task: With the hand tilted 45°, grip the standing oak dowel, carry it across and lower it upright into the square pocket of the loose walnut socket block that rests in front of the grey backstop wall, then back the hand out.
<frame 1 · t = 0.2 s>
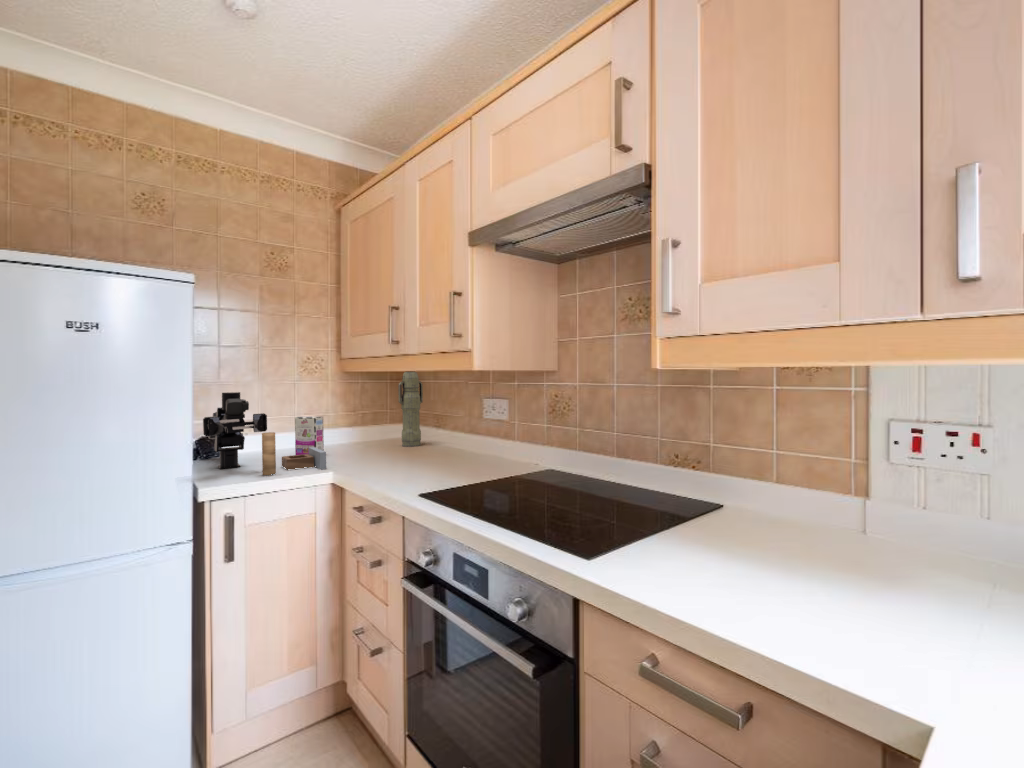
hand: (240, 427, 158), 16 cm above the worktop, tool horizontal, fingers open, 9 cm apart
dowel: (269, 474, 163), on the worktop
socket block: (297, 467, 177), on the worktop
backstop wall: (317, 466, 178), on the worktop
candy bar box: (309, 456, 202), on the worktop
green stone statue: (411, 445, 230), on the worktop
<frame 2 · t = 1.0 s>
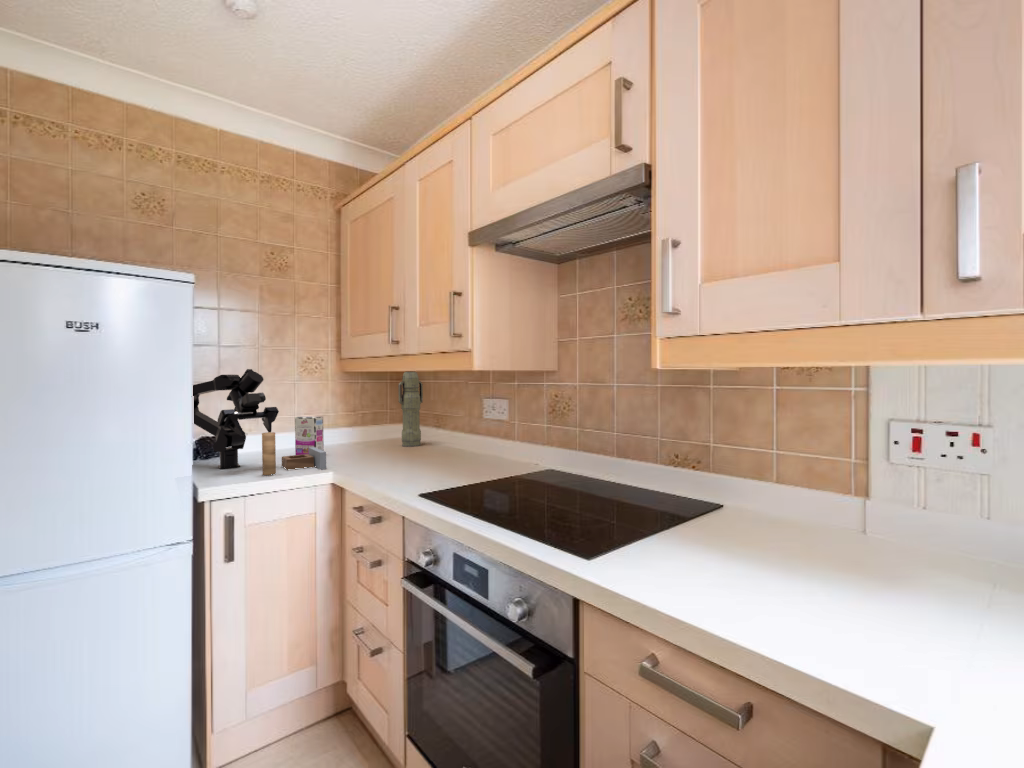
hand: (256, 433, 168), 13 cm above the worktop, tool tilted 45°, fingers open, 9 cm apart
nothing on the worktop moved.
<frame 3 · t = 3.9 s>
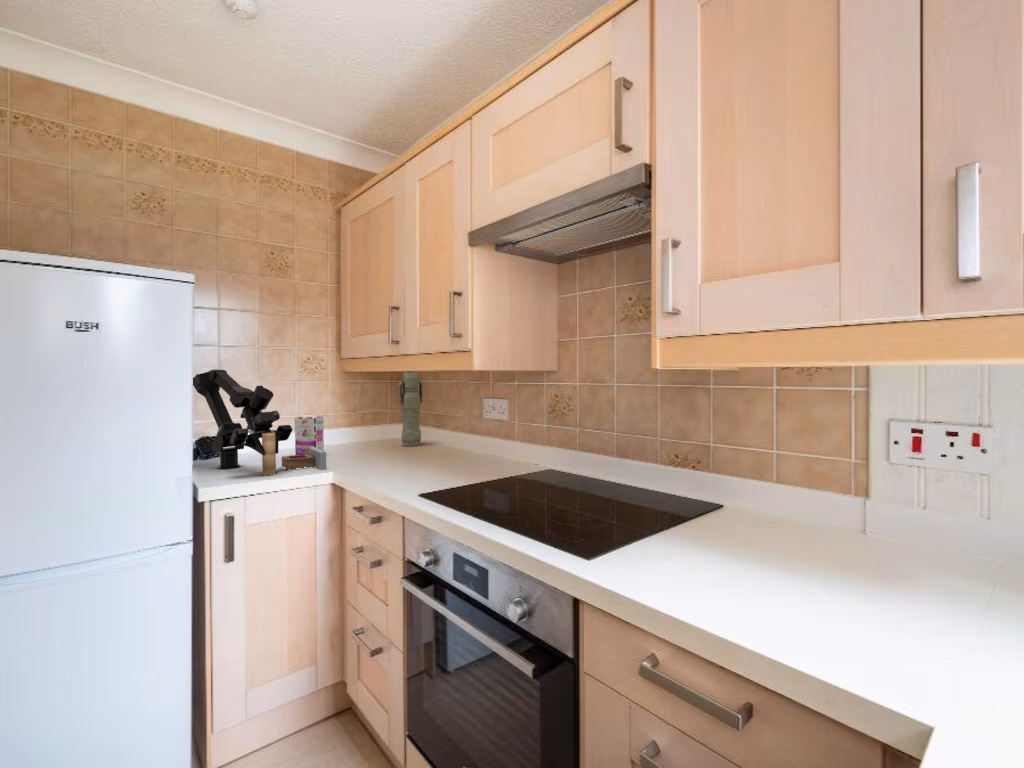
hand: (270, 453, 162), 7 cm above the worktop, tool tilted 45°, fingers closed on dowel, 4 cm apart
dowel: (269, 474, 163), on the worktop, touching gripper
everything else where it was.
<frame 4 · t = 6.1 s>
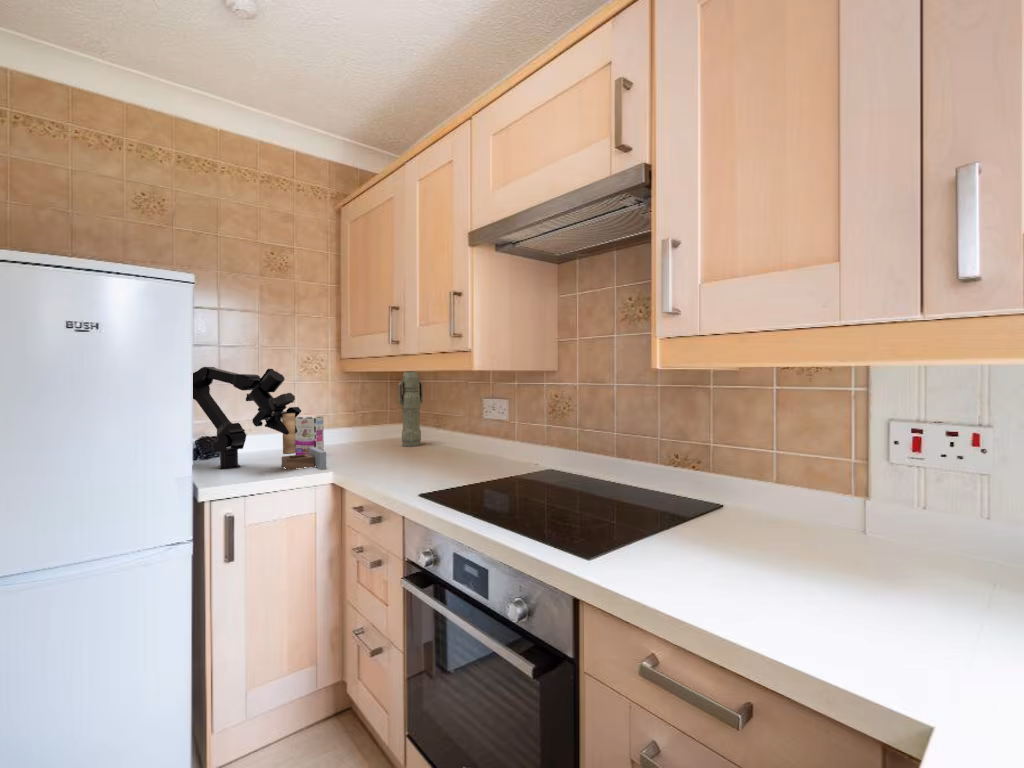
hand: (292, 433, 171), 13 cm above the worktop, tool tilted 45°, fingers closed on dowel, 4 cm apart
dowel: (289, 453, 171), point 6 cm above the worktop, touching gripper
everything else where it was.
when the fingers open (9 cm above the worktop, at t = 8.5 s): dowel drops 1 cm, resting on socket block.
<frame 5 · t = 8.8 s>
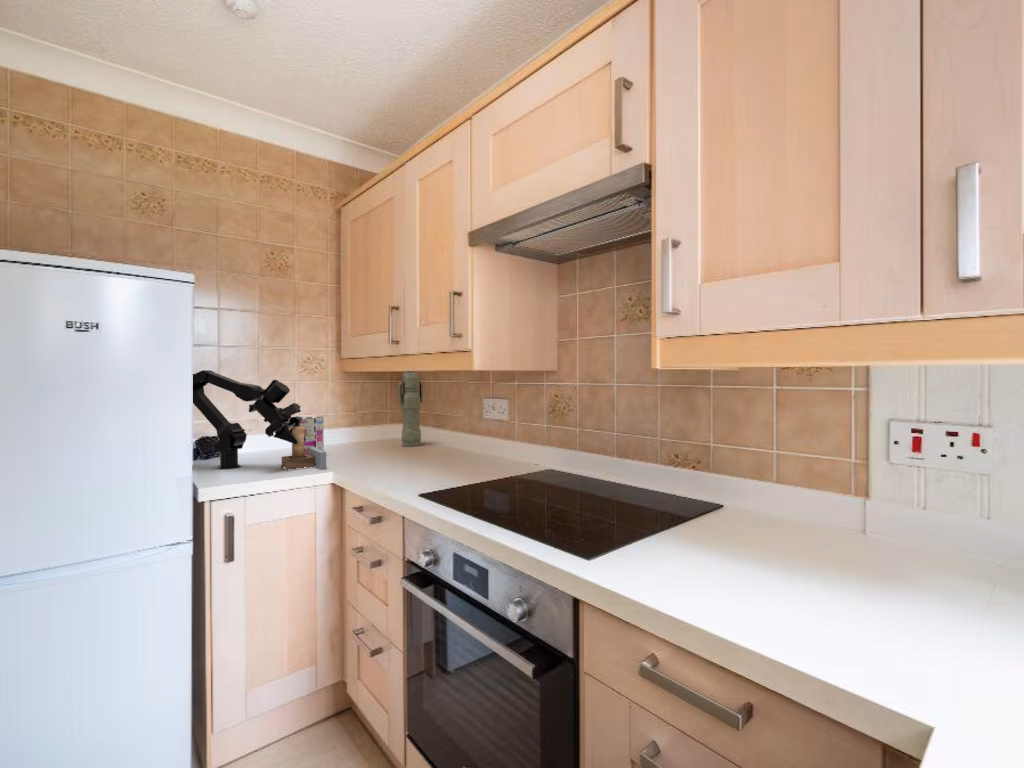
hand: (301, 441, 177), 9 cm above the worktop, tool tilted 45°, fingers open, 7 cm apart
dowel: (297, 465, 177), point 1 cm above the worktop, touching socket block
socket block: (297, 467, 177), on the worktop, touching dowel
everything else where it was.
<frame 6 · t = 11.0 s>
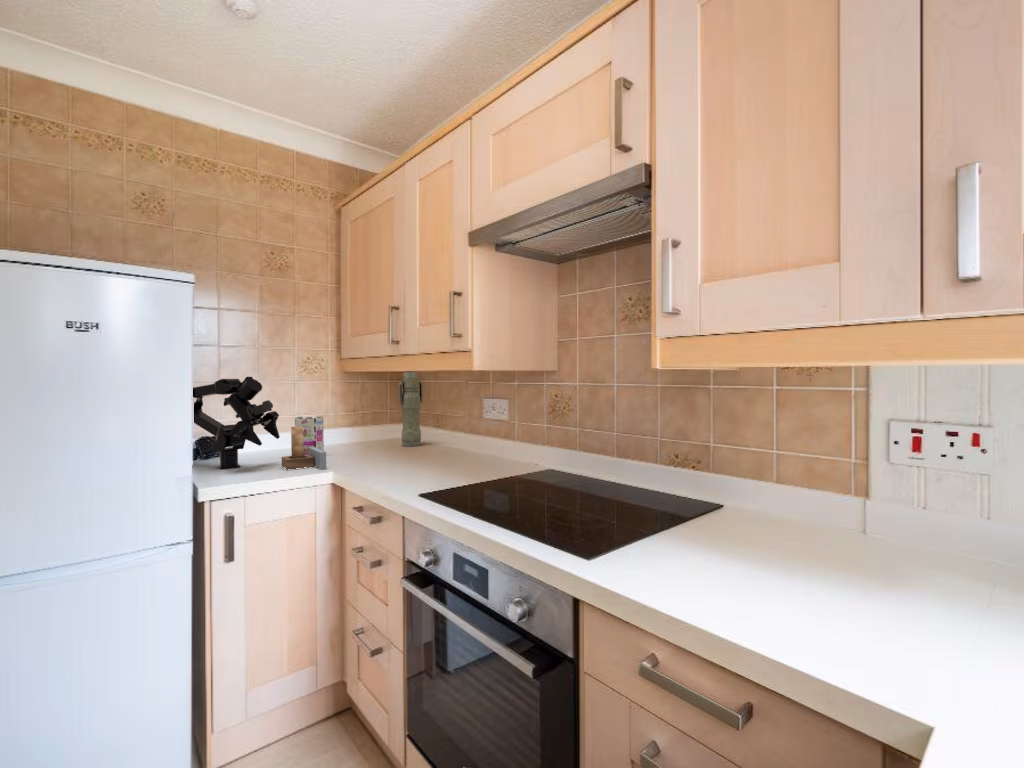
hand: (270, 441, 175), 10 cm above the worktop, tool tilted 40°, fingers open, 9 cm apart
nothing on the worktop moved.
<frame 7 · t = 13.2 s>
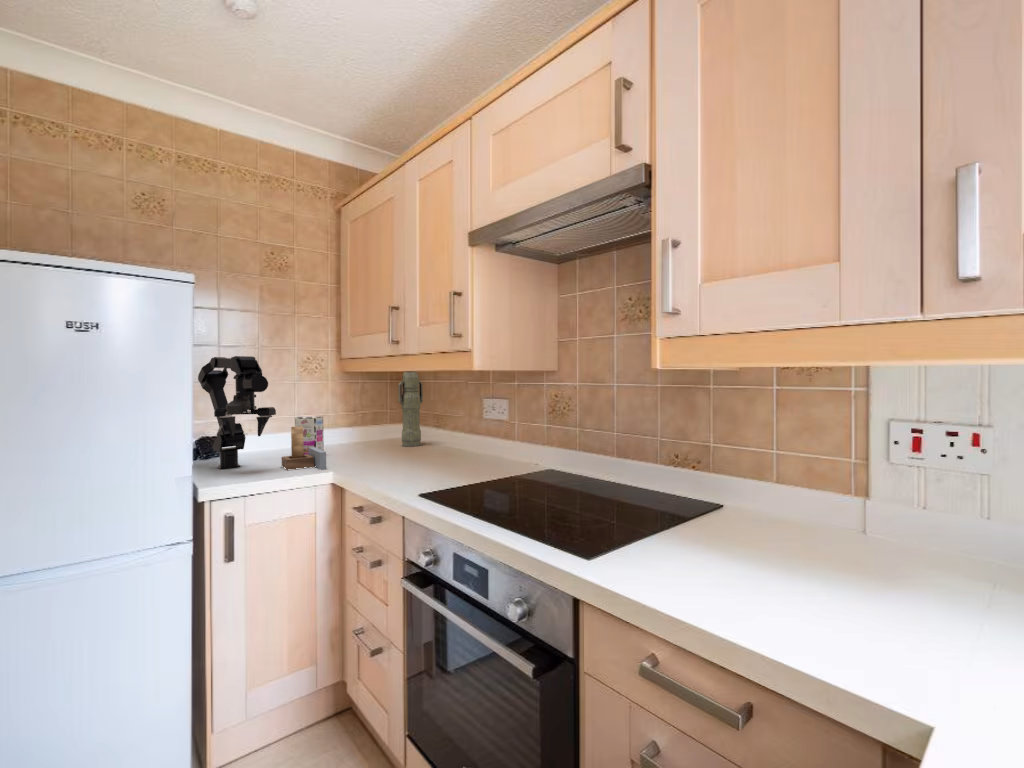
hand: (246, 436, 170), 12 cm above the worktop, tool pointing down, fingers open, 9 cm apart
nothing on the worktop moved.
at the end: dowel 0.0 cm off-centre on the socket block, point 1.0 cm above the socket block's base; dowel tilted 0°; the gripper is holding nothing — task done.
